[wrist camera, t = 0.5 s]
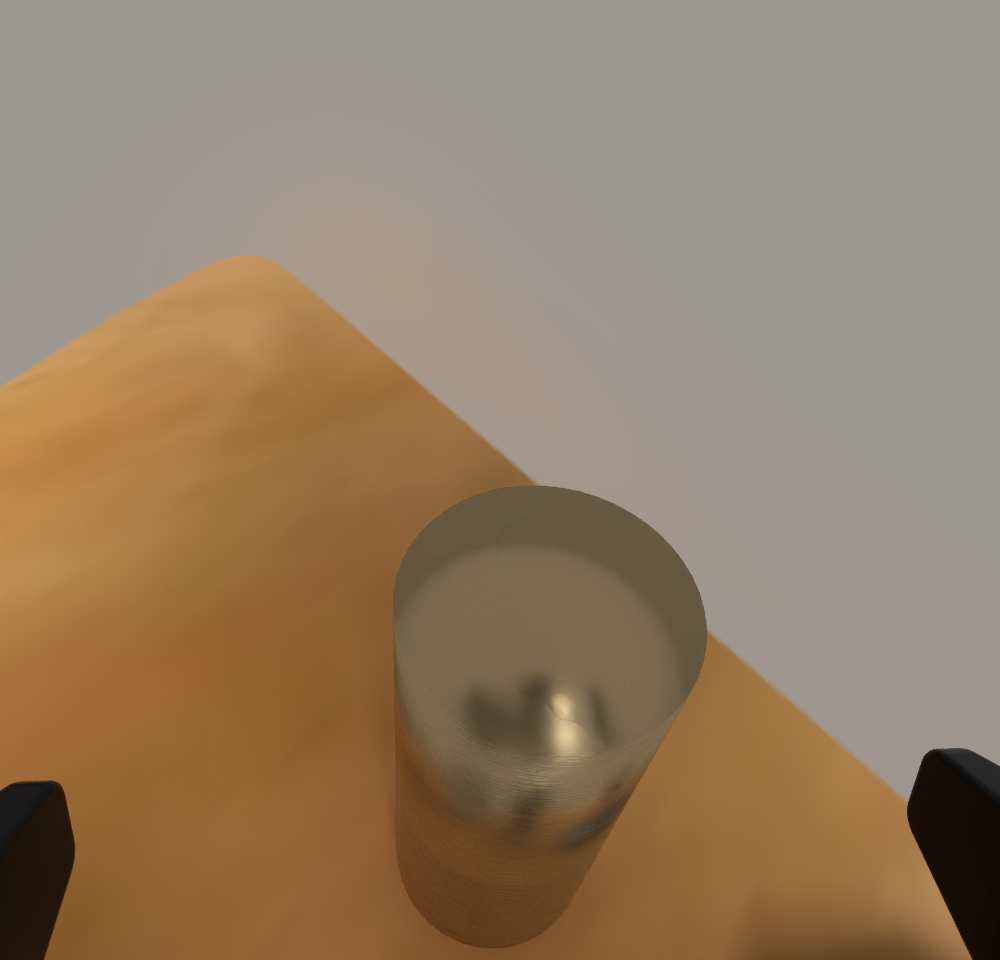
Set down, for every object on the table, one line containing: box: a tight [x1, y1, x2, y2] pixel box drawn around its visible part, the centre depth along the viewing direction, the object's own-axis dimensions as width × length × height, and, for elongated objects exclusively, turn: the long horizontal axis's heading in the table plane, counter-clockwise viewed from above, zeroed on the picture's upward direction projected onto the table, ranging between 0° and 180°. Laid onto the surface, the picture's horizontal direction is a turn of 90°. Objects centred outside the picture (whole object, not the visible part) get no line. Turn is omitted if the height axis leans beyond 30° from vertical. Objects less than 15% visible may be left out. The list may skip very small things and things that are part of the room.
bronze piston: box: [393, 486, 707, 948], centre depth 18 cm, size 6×6×12 cm
